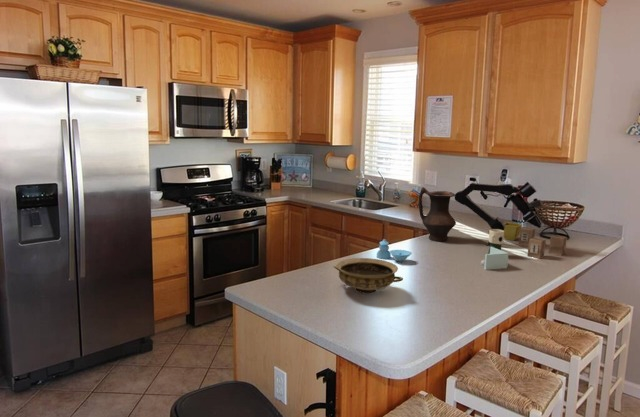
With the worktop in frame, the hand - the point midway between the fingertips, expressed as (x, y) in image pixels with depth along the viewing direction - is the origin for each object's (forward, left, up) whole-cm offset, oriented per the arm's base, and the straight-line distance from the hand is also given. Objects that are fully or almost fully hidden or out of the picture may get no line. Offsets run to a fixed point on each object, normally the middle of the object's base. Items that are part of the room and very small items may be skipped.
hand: (540, 226), depth 257 cm
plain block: (+3, -9, -14) cm, 16 cm away
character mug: (-27, +11, -14) cm, 33 cm away
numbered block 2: (-13, -4, -14) cm, 19 cm away
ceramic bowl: (-118, +21, -14) cm, 121 cm away
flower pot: (+15, +21, -14) cm, 29 cm away
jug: (-20, +50, -13) cm, 55 cm away
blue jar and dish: (-74, +40, -14) cm, 86 cm away
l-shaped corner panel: (-47, +5, -14) cm, 49 cm away
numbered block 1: (+10, +10, -14) cm, 20 cm away
